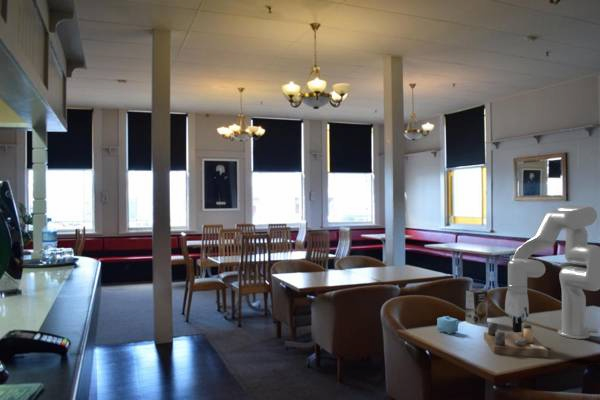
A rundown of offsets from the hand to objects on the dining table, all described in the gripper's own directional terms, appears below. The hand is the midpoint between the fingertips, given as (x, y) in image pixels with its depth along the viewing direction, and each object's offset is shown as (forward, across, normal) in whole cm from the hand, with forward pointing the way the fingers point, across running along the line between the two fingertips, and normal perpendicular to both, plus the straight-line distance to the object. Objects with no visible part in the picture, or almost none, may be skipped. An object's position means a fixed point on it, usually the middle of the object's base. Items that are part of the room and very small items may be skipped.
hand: (517, 331), depth 194 cm
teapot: (+6, -22, -20) cm, 30 cm away
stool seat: (+6, +3, -4) cm, 7 cm away
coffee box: (+6, -36, +4) cm, 37 cm away
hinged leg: (+2, +8, -3) cm, 9 cm away
